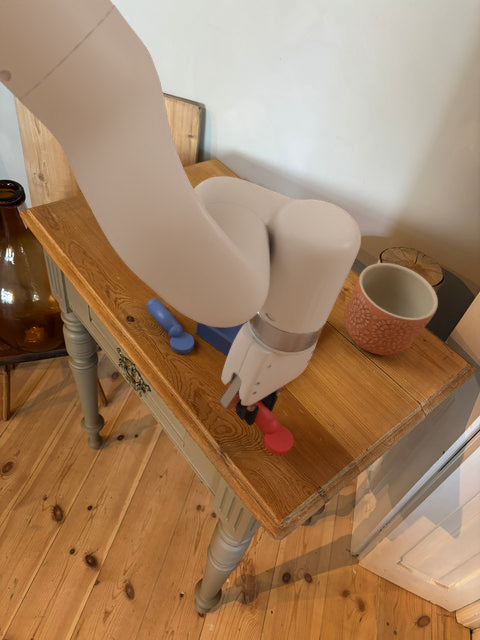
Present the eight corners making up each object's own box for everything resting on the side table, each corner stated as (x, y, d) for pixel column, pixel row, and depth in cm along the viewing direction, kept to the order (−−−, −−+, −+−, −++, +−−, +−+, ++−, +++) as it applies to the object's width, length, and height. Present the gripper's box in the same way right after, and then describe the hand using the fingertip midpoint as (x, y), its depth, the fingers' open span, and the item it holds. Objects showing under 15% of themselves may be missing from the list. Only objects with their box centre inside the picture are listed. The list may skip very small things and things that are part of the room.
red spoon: (222, 394, 61) (225, 384, 60) (243, 382, 63) (246, 372, 62) (276, 460, 56) (280, 451, 55) (297, 445, 58) (302, 436, 57)
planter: (374, 377, 72) (403, 332, 64) (321, 324, 78) (342, 276, 70) (423, 346, 78) (455, 302, 70) (370, 299, 84) (394, 253, 76)
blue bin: (195, 334, 72) (197, 319, 70) (255, 283, 82) (258, 269, 79) (263, 382, 68) (268, 368, 65) (317, 323, 78) (323, 309, 75)
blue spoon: (140, 310, 74) (140, 300, 72) (159, 302, 76) (160, 291, 74) (178, 357, 69) (179, 347, 67) (198, 348, 70) (199, 338, 69)
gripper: (316, 270, 53) (279, 365, 66) (201, 322, 44) (185, 418, 58) (364, 312, 49) (315, 403, 63) (249, 378, 41) (220, 466, 55)
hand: (253, 410), depth 60 cm, fingers closed on red spoon, 2 cm apart
